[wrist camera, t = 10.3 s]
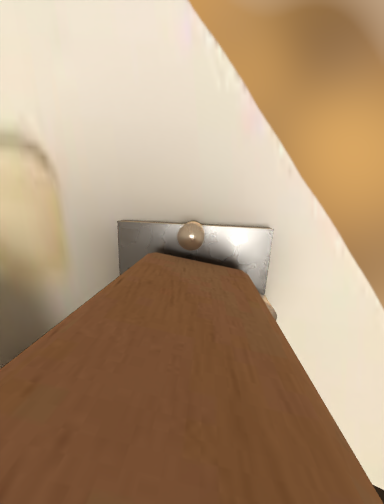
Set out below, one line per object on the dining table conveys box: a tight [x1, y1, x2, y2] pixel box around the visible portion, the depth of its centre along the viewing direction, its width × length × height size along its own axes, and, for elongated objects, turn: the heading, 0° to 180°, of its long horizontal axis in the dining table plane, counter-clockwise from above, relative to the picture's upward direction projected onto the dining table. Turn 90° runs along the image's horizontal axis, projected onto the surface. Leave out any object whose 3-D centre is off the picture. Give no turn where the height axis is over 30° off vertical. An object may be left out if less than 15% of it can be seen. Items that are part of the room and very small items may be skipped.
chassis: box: [117, 220, 277, 321], centre depth 21 cm, size 17×17×4 cm
